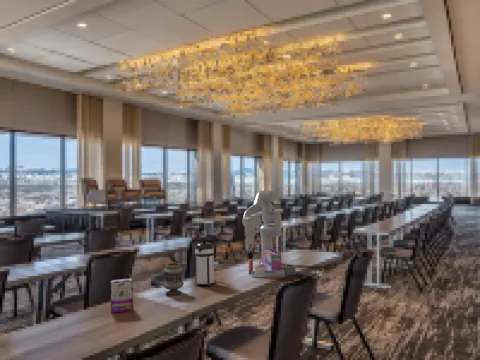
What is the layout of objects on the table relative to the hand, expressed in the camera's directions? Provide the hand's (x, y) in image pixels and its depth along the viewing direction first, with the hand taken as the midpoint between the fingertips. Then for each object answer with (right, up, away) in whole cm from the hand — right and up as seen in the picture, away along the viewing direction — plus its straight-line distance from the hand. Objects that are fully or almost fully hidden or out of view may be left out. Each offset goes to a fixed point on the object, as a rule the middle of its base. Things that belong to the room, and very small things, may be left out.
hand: (250, 257), depth 288 cm
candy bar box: (-70, -13, -80) cm, 107 cm away
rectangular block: (+13, -12, -6) cm, 18 cm away
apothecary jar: (-48, -12, -48) cm, 69 cm away
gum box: (+17, -12, +15) cm, 26 cm away
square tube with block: (+28, -11, 0) cm, 31 cm away
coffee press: (-31, -12, -27) cm, 42 cm away
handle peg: (0, -12, 0) cm, 12 cm away
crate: (+7, -12, -6) cm, 15 cm away
